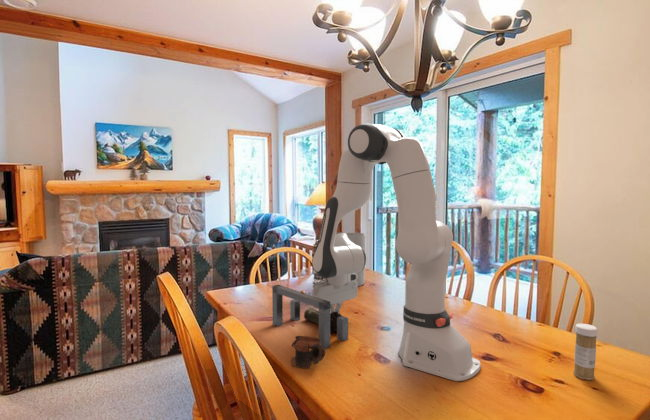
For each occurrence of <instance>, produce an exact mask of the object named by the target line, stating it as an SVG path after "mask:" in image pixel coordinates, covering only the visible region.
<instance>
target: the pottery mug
mask: <svg viewBox="0 0 650 420" xmlns="http://www.w3.org/2000/svg"><path fill="white" fill-rule="evenodd" d="M294 338H295V340H294V341H293V342H292V344H291V347H293V348H294V349H295V351H294V352H295V356H293V357H291V358H290V364H291V365H290V366H291V367H299V368H302V369H311V364H314V365H317V364H319V363H320V362H321V361H322V360H323V359H324V358H325V354H326V349H325V348H324V347H323V346H322V345H321V344H320V343H321V340H320V339H319V337H315V336H307V335H296V336H295V337H294Z"/></svg>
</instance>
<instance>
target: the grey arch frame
mask: <svg viewBox="0 0 650 420" xmlns="http://www.w3.org/2000/svg"><path fill="white" fill-rule="evenodd" d="M271 288H272V290H271V291H272V293H271V294H272V295H271V296H272V297H271V299H272V326H273V327H281V326H283V325H284V324H283V323H284V322H283V321H284V319H283V318H284V317H283V315H284V314H283V305H284V304H283V296H284V297H287V298H290V299H291V300H294V299H295V300H298V301H300V303H304V304H306V305H309V306H312V307H313V306H314V307H317V308H319V309H318V311H319V324H318V338H319V339H320V340H321V343H320V344H321V345H322V346H323V347H324V348H325V350H326V349H328V348H330V347H331V331H330V313H331V310H330V302H329V301H326V300H323V299H320V298H317V297H314V296H312V294H308V293H307V292H306V291H305V290H301V291H298V290H297V289H294V288H293V289H292V288H289V287H288V286H287V287H286V286H284V285H280V284H275V285H272V287H271ZM314 307H313V308H314ZM317 308H316V309H317Z"/></svg>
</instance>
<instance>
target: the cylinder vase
mask: <svg viewBox="0 0 650 420" xmlns="http://www.w3.org/2000/svg"><path fill="white" fill-rule="evenodd" d="M344 233H345V234H347V237H348V239H349V240H350V241H351V242H353V243H354V244H356V245H359V246H360V247H361V248H362V249H363V250H364V252H365V253H366V233H361V232H344ZM365 268H366V266H365V267H364V269H363V270H362V271H360V272H357V273H355V274H357V275H358V278H357V280H356V281H357V284H358V287H361V286H363V285H365V282H366V281H365V277H366V272H365V271H366V270H365Z"/></svg>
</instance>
